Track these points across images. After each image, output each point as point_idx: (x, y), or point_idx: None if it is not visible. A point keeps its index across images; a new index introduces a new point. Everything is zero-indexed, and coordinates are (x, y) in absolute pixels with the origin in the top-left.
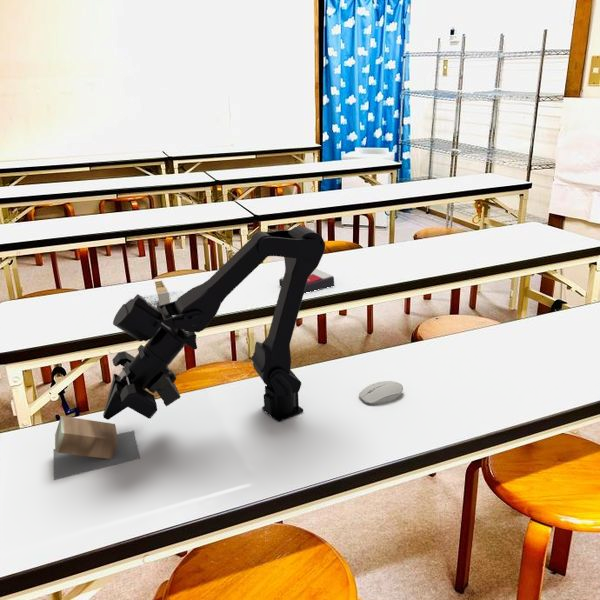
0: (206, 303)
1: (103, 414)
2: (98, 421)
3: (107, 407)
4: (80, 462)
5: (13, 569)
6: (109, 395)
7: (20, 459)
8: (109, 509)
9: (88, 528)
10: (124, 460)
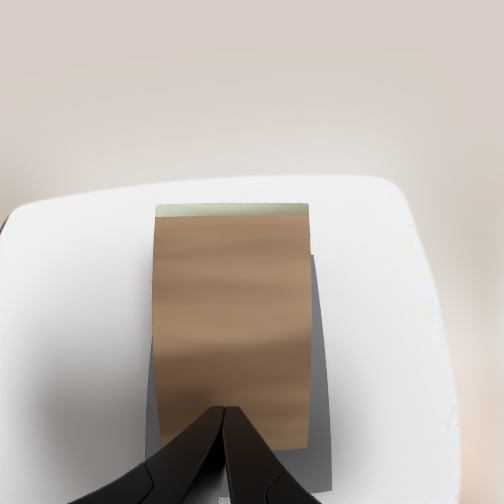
0: None
1: (231, 408)
2: (310, 380)
3: (171, 440)
4: None
5: (14, 213)
6: (253, 489)
7: (301, 196)
8: (17, 356)
9: (2, 310)
10: (154, 445)
